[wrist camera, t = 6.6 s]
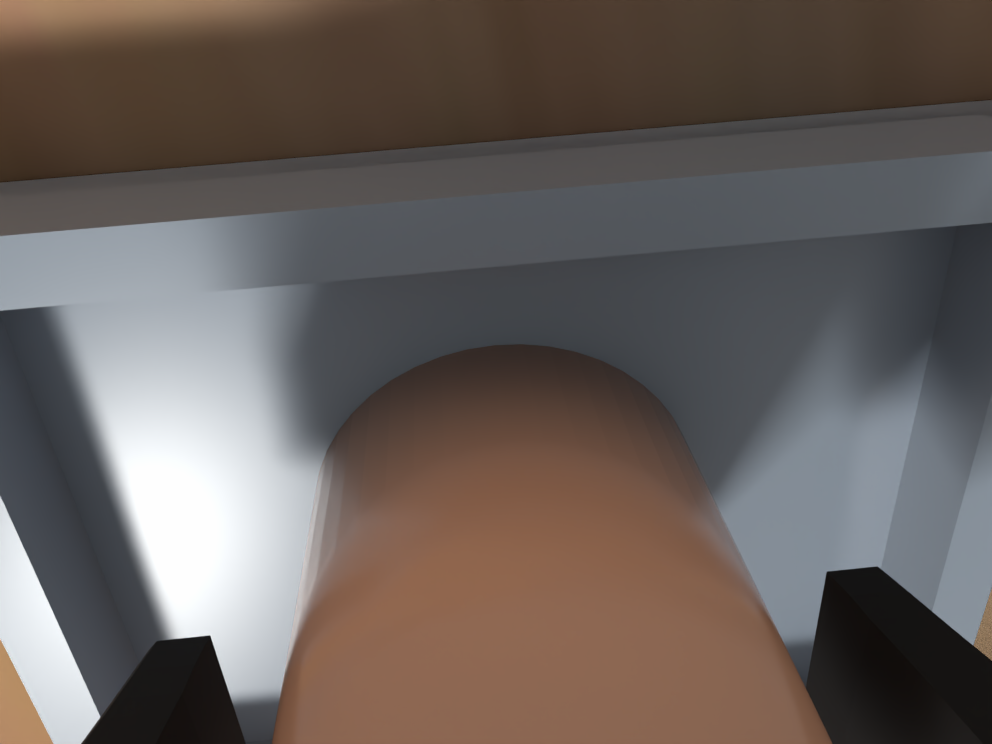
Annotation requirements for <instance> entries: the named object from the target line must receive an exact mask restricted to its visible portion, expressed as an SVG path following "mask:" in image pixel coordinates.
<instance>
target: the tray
mask: <svg viewBox="0 0 992 744" xmlns="http://www.w3.org/2000/svg"><path fill="white" fill-rule="evenodd" d="M516 344H525V345H538V346H550V347H555V348H560V349H565V350H570V351H574V352H578V353H581V354H584V355H587V356H590V357H593V358H596V359H599V360H601V361H603V362H605V363H607V364H609V365H611V366H614V367H616V368H618V369H620V370H622V371H623V372H625V373H626V374H628V375H629V376H631V377H632V378H634V379H635V380H637V381H638V382H640V383H641V384H643V385H644V386H645V387H646V388H647V389H648V390H649V391H650V392H651V393H652V394H654V395H655V396H656V397H657V398H658V399H659V400H660V401H661V403H662V404H663V405H664V406H665V407H666V409H667V410H668V411H669V412H670V414H671V415H672V416H673V418H674V420H675V421H676V423H677V425H678V427H679V428H680V430H681V432H682V434H683V436H684V438H685V440H686V442H687V444H688V446H689V448H690V450H691V452H692V454H693V456H694V458H695V460H696V462H697V464H698V467H699V469H700V471H701V473H702V475H703V477H704V479H705V481H706V483H707V485H708V487H709V489H710V491H711V493H712V495H713V498H714V500H715V502H716V504H717V506H718V508H719V510H720V512H721V514H722V516H723V518H724V520H725V522H726V524H727V526H728V529H729V531H730V533H731V535H732V537H733V539H734V541H735V543H736V545H737V547H738V549H739V551H740V553H741V555H742V557H743V559H744V562H745V564H746V566H747V568H748V570H749V572H750V574H751V576H752V578H753V580H754V582H755V584H756V586H757V588H758V590H759V593H760V595H761V597H762V599H763V601H764V603H765V605H766V607H767V609H768V611H769V613H770V615H771V617H772V619H773V621H774V624H775V626H776V628H777V630H778V632H779V634H780V636H781V638H782V640H783V642H784V644H785V646H786V648H787V650H788V652H789V655H790V657H791V659H792V661H793V663H794V665H795V667H796V669H797V671H798V673H799V675H800V677H801V679H802V681H803V683H804V686H805V688H806V683H807V678H808V672H809V666H810V661H811V655H812V650H813V644H814V639H815V633H816V628H817V622H818V617H819V611H820V606H821V600H822V595H823V589H824V584H825V578H826V573H827V571H837V570H847V569H856V568H866V567H876V566H878V567H879V568H880V569H881V570H883V571H884V572H885V573H886V574H888V575H889V576H890V577H891V578H893V579H894V580H895V581H896V582H897V583H899V584H900V585H901V586H902V587H903V588H905V589H906V590H907V591H908V592H909V593H911V594H912V595H913V596H914V597H915V598H917V599H918V600H919V601H920V602H921V603H923V604H924V605H925V606H926V607H927V608H929V609H930V610H931V611H932V612H933V613H935V614H936V615H937V616H938V617H939V618H941V619H942V620H943V621H944V622H945V623H946V624H948V625H949V626H950V627H951V628H952V629H954V630H955V631H956V632H957V633H959V634H960V635H961V636H962V637H963V638H965V639H966V640H967V641H968V642H969V643H971V644H972V645H974V642H975V639H976V635H977V632H978V629H979V626H980V623H981V620H982V616H983V613H984V610H985V607H986V604H987V601H988V598H989V594H990V591H991V588H992V100H985V101H973V102H961V103H949V104H937V105H925V106H913V107H901V108H889V109H877V110H865V111H853V112H841V113H829V114H817V115H805V116H793V117H781V118H769V119H757V120H745V121H733V122H721V123H709V124H697V125H685V126H673V127H661V128H649V129H637V130H625V131H613V132H601V133H589V134H577V135H565V136H553V137H541V138H529V139H517V140H505V141H493V142H481V143H469V144H457V145H445V146H433V147H421V148H409V149H397V150H385V151H373V152H361V153H349V154H337V155H325V156H313V157H301V158H289V159H277V160H265V161H253V162H241V163H229V164H217V165H205V166H193V167H181V168H169V169H157V170H145V171H133V172H121V173H110V174H98V175H86V176H74V177H62V178H50V179H38V180H26V181H14V182H2V183H0V639H1V641H2V643H3V645H4V647H5V649H6V651H7V653H8V655H9V657H10V659H11V661H12V663H13V665H14V667H15V669H16V671H17V672H18V674H19V676H20V678H21V680H22V682H23V684H24V686H25V688H26V690H27V692H28V694H29V696H30V698H31V700H32V702H33V704H34V706H35V708H36V710H37V712H38V714H39V716H40V718H41V720H42V722H43V724H44V726H45V728H46V730H47V732H48V734H49V736H50V737H51V739H52V741H53V743H54V744H81V743H82V742H83V740H84V739H85V738H86V736H87V735H88V734H89V732H90V731H91V729H92V728H93V727H94V725H95V724H96V723H97V721H98V720H99V719H100V717H101V716H102V714H103V713H104V712H105V710H106V709H107V707H108V706H109V705H110V703H111V702H112V700H113V699H114V698H115V696H116V695H117V693H118V692H119V691H120V689H121V688H122V686H123V685H124V684H125V682H126V681H127V679H128V678H129V677H130V675H131V674H132V672H133V671H134V670H135V668H136V667H137V666H138V664H139V663H140V661H141V660H142V659H143V657H144V656H145V654H146V653H147V652H148V650H149V649H150V648H151V647H152V646H153V645H154V643H155V642H156V641H160V640H170V639H180V638H189V637H199V636H209V635H210V636H211V639H212V642H213V645H214V648H215V651H216V655H217V658H218V661H219V664H220V667H221V670H222V673H223V676H224V679H225V682H226V685H227V688H228V691H229V694H230V697H231V700H232V703H233V706H234V709H235V712H236V715H237V718H238V721H239V724H240V727H241V730H242V733H243V736H244V740H245V743H246V744H272V739H273V734H274V728H275V722H276V716H277V710H278V704H279V699H280V693H281V687H282V681H283V675H284V670H285V664H286V658H287V652H288V646H289V641H290V635H291V629H292V623H293V617H294V611H295V606H296V600H297V594H298V588H299V582H300V577H301V571H302V565H303V559H304V553H305V547H306V542H307V536H308V530H309V524H310V518H311V513H312V507H313V501H314V495H315V490H316V485H317V480H318V475H319V470H320V468H321V465H322V462H323V460H324V457H325V455H326V452H327V450H328V448H329V446H330V444H331V443H332V441H333V439H334V437H335V436H336V434H337V432H338V431H339V429H340V428H341V427H342V426H343V424H344V423H345V422H346V420H347V419H348V418H349V417H350V415H351V414H352V413H353V412H354V411H355V410H356V409H357V408H358V407H359V406H360V405H361V404H362V403H363V402H364V401H365V400H366V399H367V398H368V397H369V396H370V395H372V394H373V393H374V392H376V391H377V390H379V389H380V388H381V387H383V386H384V385H385V384H387V383H388V382H389V381H391V380H392V379H394V378H396V377H398V376H400V375H401V374H403V373H405V372H407V371H409V370H410V369H412V368H414V367H416V366H419V365H421V364H424V363H426V362H429V361H431V360H434V359H436V358H439V357H441V356H445V355H449V354H452V353H456V352H460V351H463V350H467V349H474V348H480V347H487V346H493V345H516Z"/></svg>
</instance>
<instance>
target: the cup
mask: <svg viewBox="0 0 992 744" xmlns="http://www.w3.org/2000/svg"><path fill="white" fill-rule="evenodd" d="M272 744H833V743H832V741H831V739H830V737H829V735H828V733H827V731H826V729H825V727H824V725H823V723H822V721H821V719H820V716H819V714H818V712H817V710H816V708H815V706H814V704H813V702H812V700H811V698H810V696H809V694H808V692H807V690H806V688H805V686H804V683H803V681H802V679H801V677H800V675H799V673H798V671H797V669H796V667H795V665H794V663H793V661H792V659H791V657H790V655H789V652H788V650H787V648H786V646H785V644H784V642H783V640H782V638H781V636H780V634H779V632H778V630H777V628H776V626H775V624H774V621H773V619H772V617H771V615H770V613H769V611H768V609H767V607H766V605H765V603H764V601H763V599H762V597H761V595H760V593H759V590H758V588H757V586H756V584H755V582H754V580H753V578H752V576H751V574H750V572H749V570H748V568H747V566H746V564H745V562H744V559H743V557H742V555H741V553H740V551H739V549H738V547H737V545H736V543H735V541H734V539H733V537H732V535H731V533H730V531H729V529H728V526H727V524H726V522H725V520H724V518H723V516H722V514H721V512H720V510H719V508H718V506H717V504H716V502H715V500H714V498H713V495H712V493H711V491H710V489H709V487H708V485H707V483H706V481H705V479H704V477H703V475H702V473H701V471H700V469H699V467H698V464H697V462H696V460H695V458H694V456H693V454H692V452H691V450H690V448H689V446H688V444H687V442H686V440H685V438H684V436H683V434H682V432H681V430H680V428H679V427H678V425H677V423H676V421H675V420H674V418H673V416H672V415H671V414H670V412H669V411H668V410H667V409H666V407H665V406H664V405H663V404H662V403H661V401H660V400H659V399H658V398H657V397H656V396H655V395H654V394H652V393H651V392H650V391H649V390H648V389H647V388H646V387H645V386H644V385H643V384H641V383H640V382H638V381H637V380H635V379H634V378H632V377H631V376H629V375H628V374H626V373H625V372H623V371H622V370H620V369H618V368H616V367H614V366H611V365H609V364H607V363H605V362H603V361H601V360H599V359H596V358H593V357H590V356H587V355H584V354H581V353H578V352H574V351H570V350H565V349H560V348H555V347H550V346H538V345H525V344H516V345H493V346H487V347H480V348H474V349H467V350H463V351H460V352H456V353H452V354H449V355H445V356H441V357H439V358H436V359H434V360H431V361H429V362H426V363H424V364H421V365H419V366H416V367H414V368H412V369H410V370H409V371H407V372H405V373H403V374H401V375H400V376H398V377H396V378H394V379H392V380H391V381H389V382H388V383H387V384H385V385H384V386H383V387H381V388H380V389H379V390H377V391H376V392H374V393H373V394H372V395H370V396H369V397H368V398H367V399H366V400H365V401H364V402H363V403H362V404H361V405H360V406H359V407H358V408H357V409H356V410H355V411H354V412H353V413H352V414H351V415H350V417H349V418H348V419H347V420H346V422H345V423H344V424H343V426H342V427H341V428H340V429H339V431H338V432H337V434H336V436H335V437H334V439H333V441H332V443H331V444H330V446H329V448H328V450H327V452H326V455H325V457H324V460H323V462H322V465H321V468H320V470H319V475H318V480H317V485H316V490H315V495H314V501H313V507H312V513H311V518H310V524H309V530H308V536H307V542H306V547H305V553H304V559H303V565H302V571H301V577H300V582H299V588H298V594H297V600H296V606H295V611H294V617H293V623H292V629H291V635H290V641H289V646H288V652H287V658H286V664H285V670H284V675H283V681H282V687H281V693H280V699H279V704H278V710H277V716H276V722H275V728H274V734H273V739H272Z"/></svg>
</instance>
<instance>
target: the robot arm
mask: <svg viewBox="0 0 992 744" xmlns="http://www.w3.org/2000/svg"><path fill="white" fill-rule="evenodd" d="M806 690H807V692H808V694H809V696H810V698H811V700H812V702H813V704H814V706H815V708H816V710H817V712H818V714H819V716H820V719H821V721H822V723H823V725H824V727H825V729H826V731H827V733H828V735H829V737H830V739H831V741H832V743H833V744H992V661H991V660H990V659H989V658H988V657H986V656H985V655H984V654H983V653H982V652H980V651H979V650H978V649H977V648H975V647H974V646H973V645H972V644H971V643H969V642H968V641H967V640H966V639H965V638H963V637H962V636H961V635H960V634H959V633H957V632H956V631H955V630H954V629H952V628H951V627H950V626H949V625H948V624H946V623H945V622H944V621H943V620H942V619H941V618H939V617H938V616H937V615H936V614H935V613H933V612H932V611H931V610H930V609H929V608H927V607H926V606H925V605H924V604H923V603H921V602H920V601H919V600H918V599H917V598H915V597H914V596H913V595H912V594H911V593H909V592H908V591H907V590H906V589H905V588H903V587H902V586H901V585H900V584H899V583H897V582H896V581H895V580H894V579H893V578H891V577H890V576H889V575H888V574H886V573H885V572H884V571H883V570H881V569H880V568H879V567H878V566H876V567H866V568H856V569H847V570H837V571H827V573H826V578H825V584H824V589H823V595H822V600H821V606H820V611H819V617H818V622H817V628H816V633H815V639H814V644H813V650H812V655H811V661H810V666H809V672H808V678H807V683H806ZM81 744H246V743H245V740H244V736H243V733H242V730H241V727H240V724H239V721H238V718H237V715H236V712H235V709H234V706H233V703H232V700H231V697H230V694H229V691H228V688H227V685H226V682H225V679H224V676H223V673H222V670H221V667H220V664H219V661H218V658H217V655H216V651H215V648H214V645H213V642H212V639H211V636H210V635H209V636H199V637H189V638H180V639H170V640H160V641H156V642H155V643H154V645H153V646H152V647H151V648H150V649H149V650H148V652H147V653H146V654H145V656H144V657H143V659H142V660H141V661H140V663H139V664H138V666H137V667H136V668H135V670H134V671H133V672H132V674H131V675H130V677H129V678H128V679H127V681H126V682H125V684H124V685H123V686H122V688H121V689H120V691H119V692H118V693H117V695H116V696H115V698H114V699H113V700H112V702H111V703H110V705H109V706H108V707H107V709H106V710H105V712H104V713H103V714H102V716H101V717H100V719H99V720H98V721H97V723H96V724H95V725H94V727H93V728H92V729H91V731H90V732H89V734H88V735H87V736H86V738H85V739H84V740H83V742H82V743H81Z"/></svg>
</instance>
